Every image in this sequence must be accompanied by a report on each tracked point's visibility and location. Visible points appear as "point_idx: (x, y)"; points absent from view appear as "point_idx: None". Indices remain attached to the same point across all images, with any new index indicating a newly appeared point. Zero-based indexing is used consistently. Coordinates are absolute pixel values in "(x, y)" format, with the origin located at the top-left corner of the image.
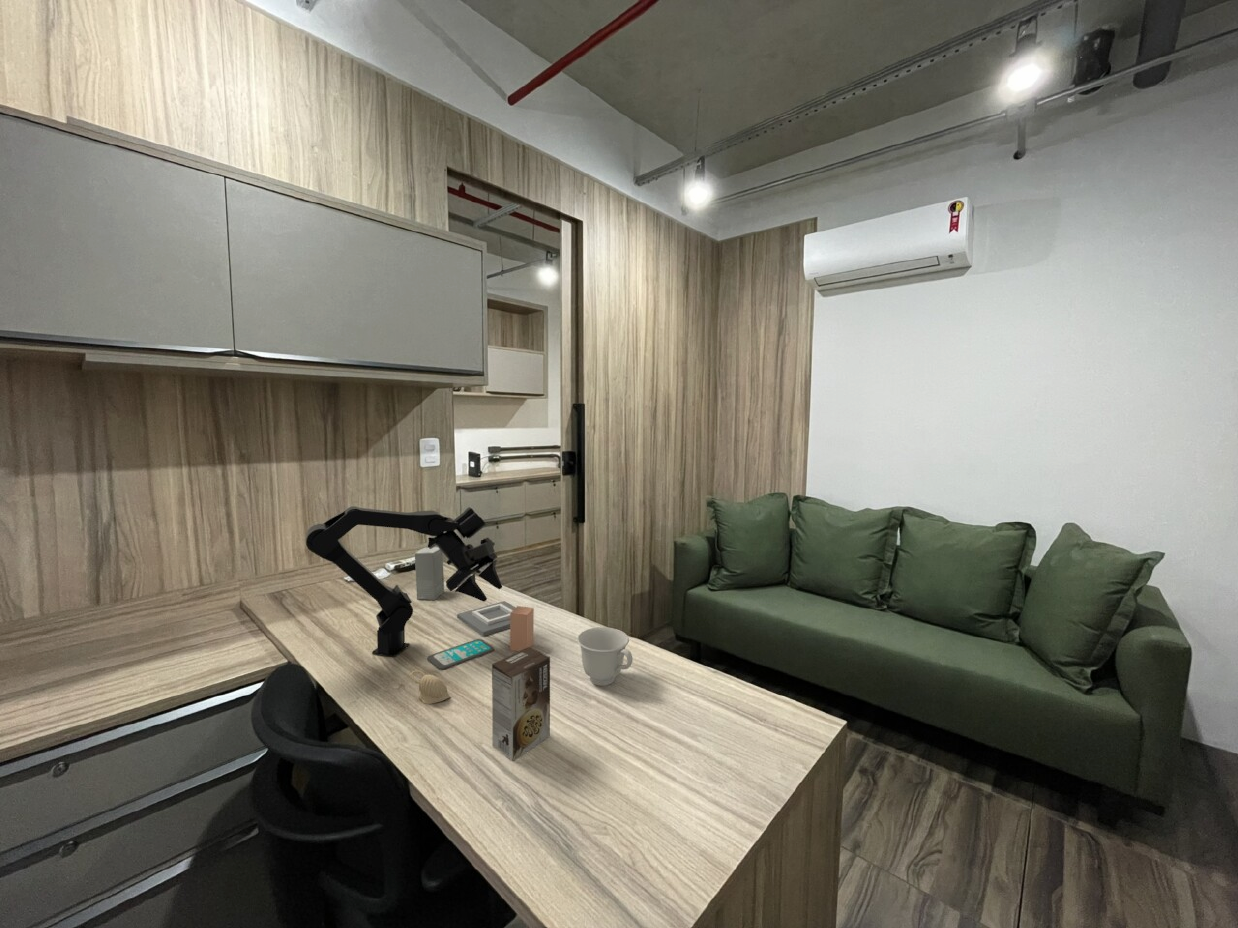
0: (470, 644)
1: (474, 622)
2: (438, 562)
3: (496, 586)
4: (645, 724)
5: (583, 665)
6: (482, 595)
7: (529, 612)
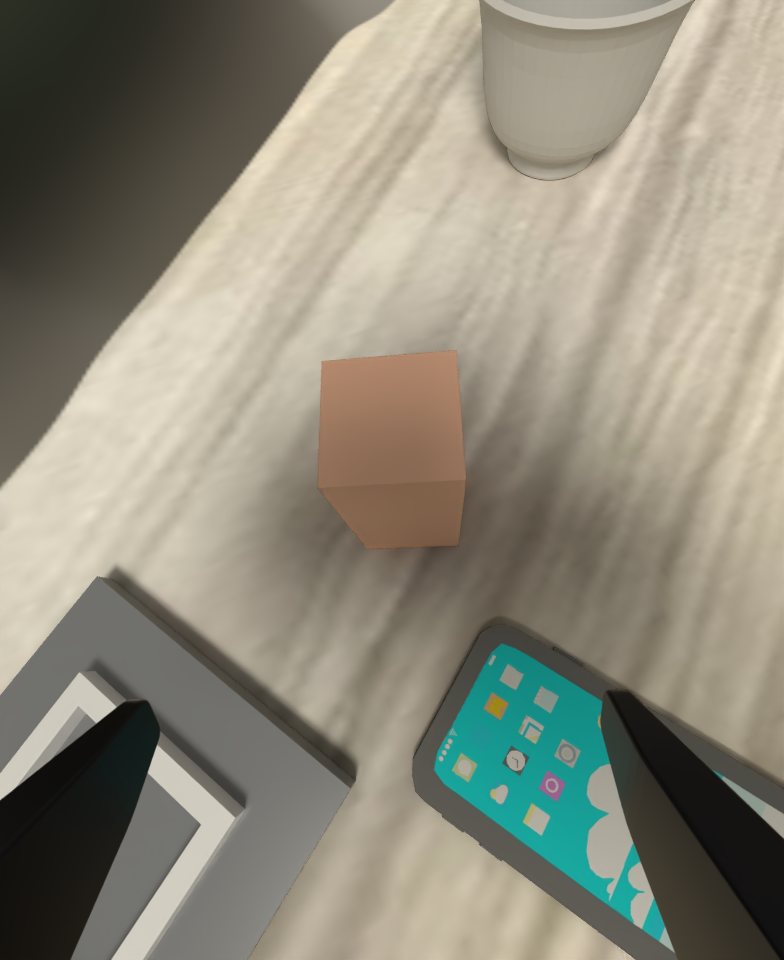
0: (499, 798)
1: (218, 946)
2: None
3: (131, 790)
4: (727, 7)
5: (622, 120)
6: (693, 756)
7: (407, 355)
